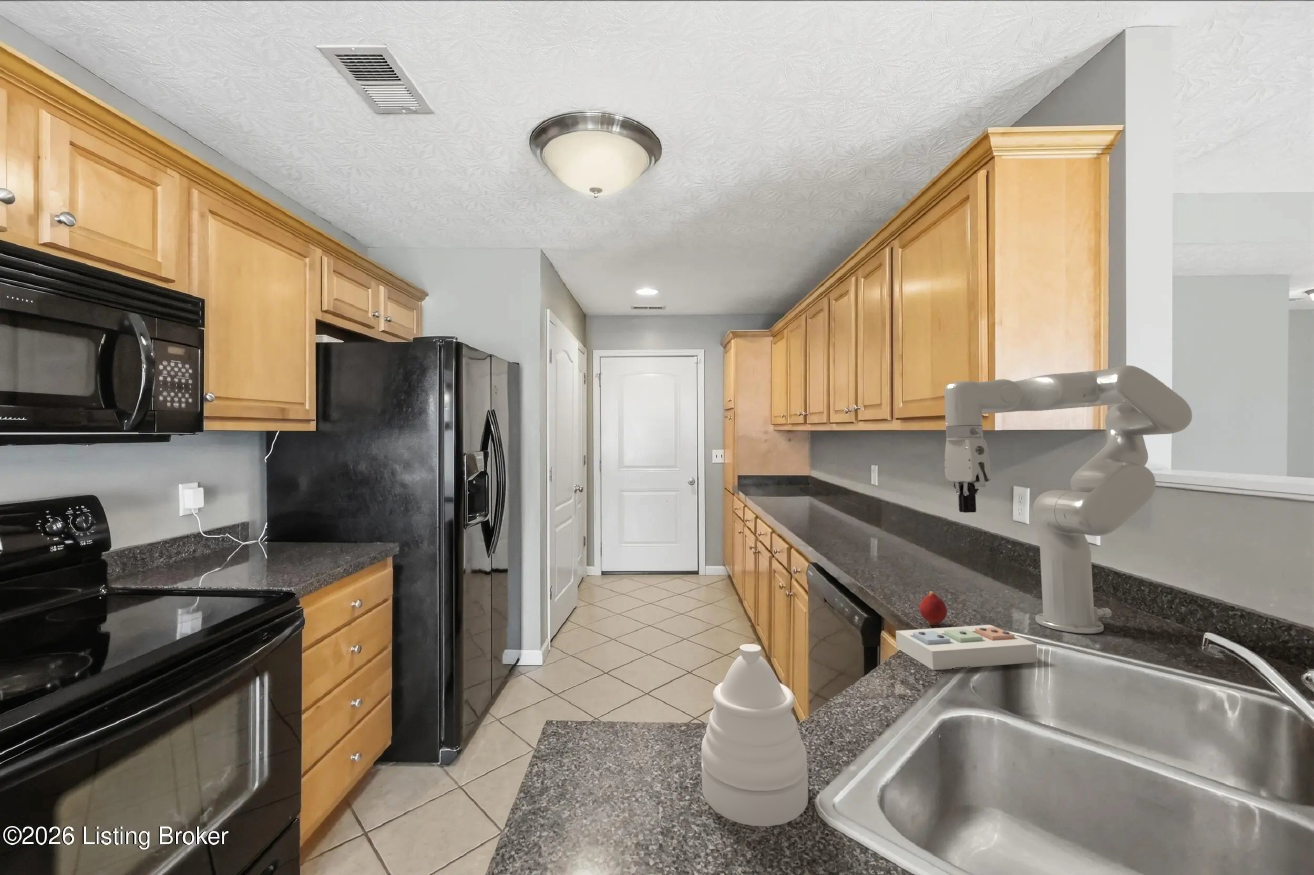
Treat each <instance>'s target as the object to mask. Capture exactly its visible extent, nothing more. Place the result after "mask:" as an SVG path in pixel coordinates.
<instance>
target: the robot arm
mask: <svg viewBox="0 0 1314 875" xmlns="http://www.w3.org/2000/svg"><path fill="white" fill-rule="evenodd" d="M943 395H944V412H945V414H944V416H945V437H946V441H945V450H944V475H945V478H946V480H948V485H949V486H950V487H952V488H954V489H955V492H956V495H958V496H957V498H958V499H957V500H958V511H959V512H960V513H965V514H966V513H977V500H976V497H977V496H978V492H979V490H980V489H984V488H986V486H987V485H986V483H987V482H990V481H991V479H992V471H991V470H992V469H991V460H990V453H989V448H988V444H987V442H986V439H984V431H983V430H984V429H983V428H984V427H983V415H988V414H1003V413H1013V412H1014V413H1015V412H1041V411H1056V410H1066V409H1067V410H1068V409H1077V408H1089V407H1102V406H1109V405H1113V406H1112V407H1110V408H1109V409H1108V411H1107V412H1106V414H1105V421H1104V423H1105V428H1106V430H1105V431H1106V436H1107V438H1106V439H1107V440H1106V444H1105V445H1104V446H1103V448H1101V449H1100V451H1098V452H1097V453H1096V454H1095V455H1094V456H1092V457H1091V458H1090V459H1089V460H1088V461H1087V462H1086V463H1084V464H1083V465H1082V466H1081V467H1079V468H1078V469H1077V470H1076V471H1075V473H1074V474H1073V475H1072V477H1071V479H1070V489H1071V490H1063V489H1052V490H1047V491H1045V492H1043V493H1041V494H1040V495H1038V497H1036V499H1035V500H1034V503H1033V507H1032V512H1033V519H1034V521H1035V522H1034V523H1035V525H1036V529H1037V534H1038V541H1039V553H1040V554H1039V556H1040V557H1039V558H1040V559H1039V560H1040V576H1041V580H1040V581H1041V595H1042V596H1041V597H1042V598H1041V599H1042V612H1041V613H1038V614H1036V615H1035V621H1036V623H1037V624H1039V625H1041V626H1044V627H1046V628H1049V629H1052V630H1056V631H1061V632H1068V633H1075V634H1099V633H1101V632H1103V631H1104V629H1105V627H1104V624H1103V623H1101V621H1099V619H1100V618H1108V617H1110V618H1111V617H1112V615H1113V613H1112V610H1111V609H1110V608H1108V607H1102V608H1098V607H1096V606H1094V591H1093V590H1094V588H1093V572H1092V571H1093V570H1092V550H1091V547H1090V544H1089V541H1088V539H1087V537H1086V536H1091V537H1092V536H1093V537H1102V536H1107V535H1109V534H1111V533H1113V532H1115V531H1116V530H1118V528H1120V527H1121V526H1122V525H1124V524H1125V523H1127V521H1129V520H1130V519H1131V518H1132V517H1133V516H1135V515H1136V513H1137V512H1138V511H1140V510H1141V509H1142V508H1143V507H1144V506H1146V505H1147V503H1149V502H1150V500H1151V499H1152V497H1153V496H1154V493H1155V490H1156V488H1157V486H1156V484H1157V483H1156V477H1155V476H1154V474H1153V472H1152V471H1151V469H1149V468H1148V467H1147V466H1146V464H1147V463H1148V462H1149V453H1148V450H1147V446H1146V442H1145V439H1144V438H1145V437H1144V436H1150V435H1151V436H1153V435H1170V434H1176V433H1179V432H1182V431H1184V430H1186V429H1187V427H1188V426H1190V424H1191V422H1192V419H1193V411H1192V409H1191V407H1190V404H1189V403H1188V402H1187V401H1186V399H1184V398H1183V397H1182V396H1181V395H1179V394H1178V393H1177V392H1175V391H1174V390H1172V389H1171V387H1169V386H1167V385H1166V384H1165V383H1164V382H1162V381H1161V380H1159V379H1158V378H1157V377H1155V376H1154V375H1153V374H1152V373H1149V372H1148V371H1146V370H1144V369H1143V368H1140V367H1137V366H1134V365H1126V364H1125V365H1121V366H1117V367H1114V366H1113V367H1110V368H1106V369H1105V368H1103V369H1099V370H1091V371H1090V370H1089V371H1088V370H1087V371H1078V372H1067V373H1065V372H1063V373H1052V374H1051V373H1050V374H1044V375H1038V376H1033V377H1030V378H1025V379H1020V380H1013V381H1012V380H1010V379H1003V378H1001V379H995V380H994V379H993V380H987V381H974V380H973V381H972V380H965V381H955V382H951V383H947V384H946V385H945V387H944V394H943Z"/></svg>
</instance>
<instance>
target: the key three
mask: <svg viewBox="0 0 1314 875" xmlns="http://www.w3.org/2000/svg"><path fill="white" fill-rule="evenodd" d="M975 633H976V634H979V635H981V636H983V637H985V638H987V639H990V640H992V641H995V640H1010V639H1014V635H1015V634H1014V633H1011V632H1009V631H1006V630H1004V629H1001V628H999V627H997V626H994V627H990V628H975Z"/></svg>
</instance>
